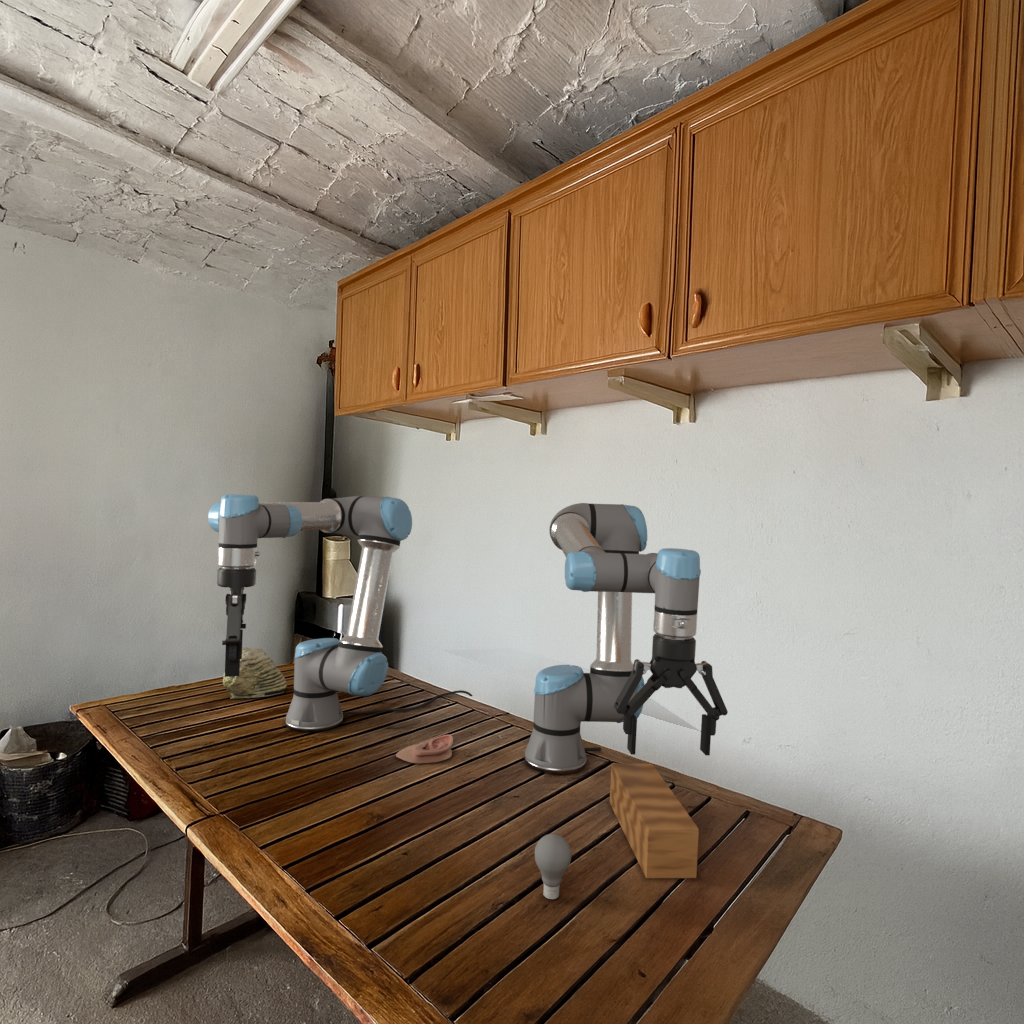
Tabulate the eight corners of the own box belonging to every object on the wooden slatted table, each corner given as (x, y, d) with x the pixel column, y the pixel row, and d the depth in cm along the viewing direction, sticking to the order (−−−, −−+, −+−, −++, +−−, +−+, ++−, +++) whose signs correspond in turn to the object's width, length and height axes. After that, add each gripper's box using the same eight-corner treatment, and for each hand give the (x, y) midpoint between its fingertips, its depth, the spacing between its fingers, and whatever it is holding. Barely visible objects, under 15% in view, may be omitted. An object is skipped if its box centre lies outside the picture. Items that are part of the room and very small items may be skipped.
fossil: (218, 695, 195) (220, 647, 195) (278, 685, 208) (279, 640, 207) (228, 703, 189) (230, 653, 188) (289, 692, 201) (290, 645, 201)
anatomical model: (391, 744, 153) (408, 727, 164) (390, 760, 153) (407, 743, 164) (443, 750, 150) (457, 733, 162) (443, 767, 150) (457, 749, 162)
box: (609, 803, 137) (611, 763, 136) (650, 803, 137) (652, 763, 137) (646, 878, 110) (648, 829, 109) (696, 878, 110) (699, 829, 110)
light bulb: (530, 885, 106) (533, 826, 106) (566, 885, 106) (568, 826, 106) (534, 909, 100) (537, 846, 100) (572, 908, 100) (575, 846, 100)
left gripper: (255, 574, 124) (251, 682, 124) (257, 561, 147) (253, 652, 147) (213, 574, 121) (209, 685, 121) (221, 561, 144) (218, 653, 145)
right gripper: (610, 638, 109) (604, 759, 110) (751, 642, 111) (744, 761, 111) (601, 628, 116) (595, 742, 117) (732, 632, 118) (726, 744, 119)
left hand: (233, 667), depth 134 cm, fingers open, 13 cm apart
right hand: (668, 752), depth 114 cm, fingers open, 13 cm apart
